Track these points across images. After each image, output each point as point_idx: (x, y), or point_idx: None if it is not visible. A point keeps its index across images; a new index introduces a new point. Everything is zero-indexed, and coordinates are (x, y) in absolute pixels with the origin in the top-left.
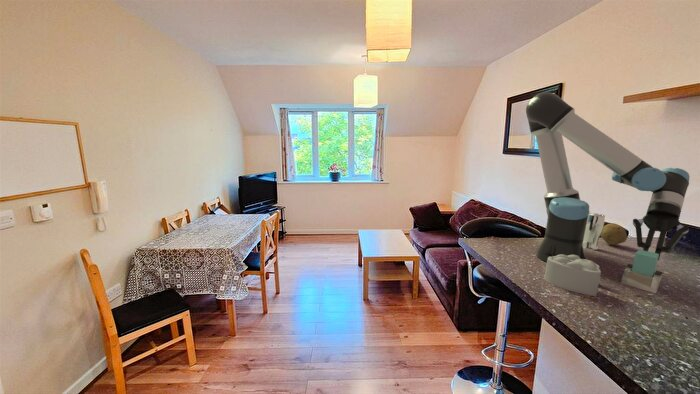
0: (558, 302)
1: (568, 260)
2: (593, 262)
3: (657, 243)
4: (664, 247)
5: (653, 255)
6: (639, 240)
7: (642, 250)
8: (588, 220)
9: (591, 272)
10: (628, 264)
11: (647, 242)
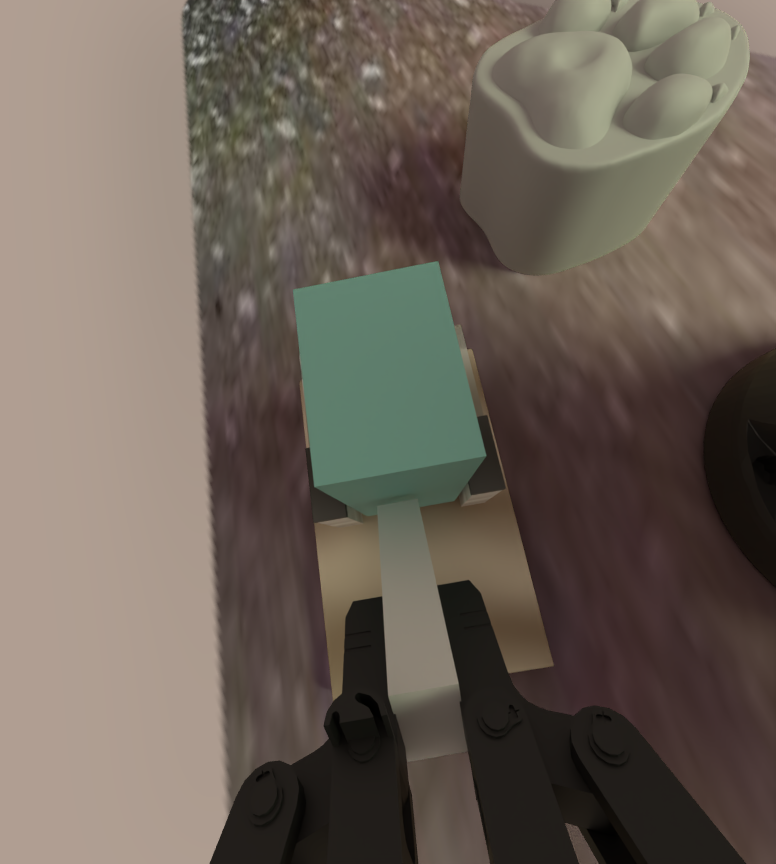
0: (484, 44)
1: (631, 7)
2: (556, 101)
3: (396, 830)
4: (309, 805)
5: (330, 356)
6: (638, 778)
7: (449, 447)
8: None
9: (494, 46)
10: (495, 459)
11: (521, 783)
